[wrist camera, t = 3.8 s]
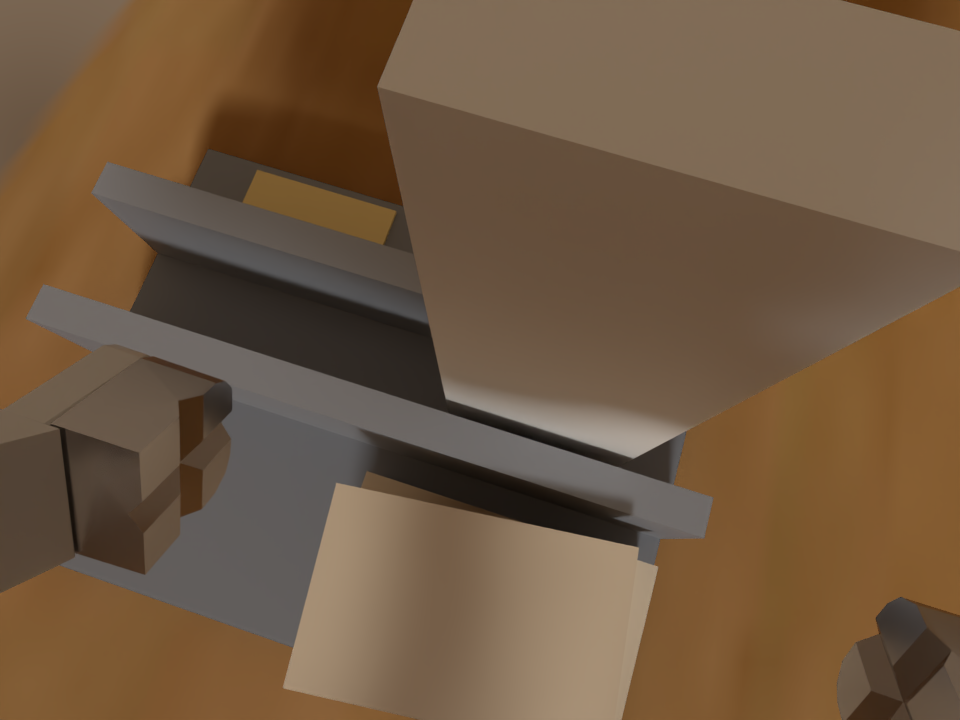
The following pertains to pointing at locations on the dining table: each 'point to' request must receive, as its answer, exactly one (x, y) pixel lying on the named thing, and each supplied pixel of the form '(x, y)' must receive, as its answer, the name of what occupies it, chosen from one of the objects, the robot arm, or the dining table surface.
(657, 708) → the dining table surface
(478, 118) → the plank
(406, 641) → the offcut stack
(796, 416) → the dining table surface
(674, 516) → the rack
